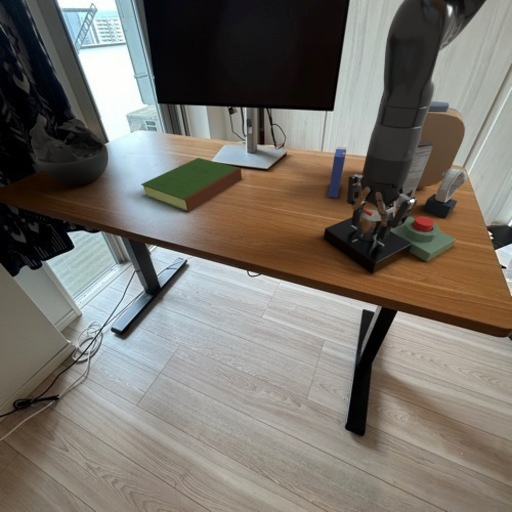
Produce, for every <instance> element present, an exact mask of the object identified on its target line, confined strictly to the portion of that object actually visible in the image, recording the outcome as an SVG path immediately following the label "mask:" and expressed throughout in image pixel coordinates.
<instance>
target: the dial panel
mask: <svg viewBox="0 0 512 512" xmlns="http://www.w3.org/2000/svg"><path fill="white" fill-rule="evenodd" d="M357 228H358V226H353V225H352V216H351V217H349V218H347V219H343V220H342V221H339V222H336V223H335V224H332V225H329V226H327V227H325V228H324V233H323V238H322V239H323V240H324V241H325V242H327V243H328V244H329V245H331V246H332V247H334V248H335V249H336V250H338V251H339V252H341V253H342V254H343V255H345V256H346V257H347V258H349V260H352V261H353V262H354V263H356V264H357V265H358V266H359V267H361V268H363V269H364V270H366V271H367V272H368V273H369V274H371V275H373V274H375V273H377V272H379V271H381V270H383V269H385V268H387V267H388V266H389V265H391V264H393V263H395V262H397V261H399V260H401V259H403V258H404V257H406V256H408V254H409V253H410V252H409V250H410V248H411V246H412V243H411V242H409V241H407V240H405V239H404V238H402V237H400V236H398V235H397V234H395V233H393V232H391V231H390V233H389V236H388V237H387V238H385V239H383V240H381V241H378V240H375V241H364V240H361V239H360V238H358V237H357V235H356V232H357Z"/></svg>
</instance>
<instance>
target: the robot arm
mask: <svg viewBox="0 0 512 512" xmlns="http://www.w3.org/2000/svg"><path fill="white" fill-rule="evenodd" d="M486 2H487V0H402V2H401V3H400V5H399V7H398V8H397V10H396V11H395V14H394V16H393V18H392V21H391V23H390V26H389V29H388V33H387V38H386V42H385V51H384V64H383V65H384V66H383V67H384V68H383V91H382V95H381V99H380V103H379V107H378V111H377V116H376V120H375V123H374V126H373V129H372V131H371V135H370V138H369V142H368V146H367V150H366V155H365V160H364V164H363V168H362V174H361V173H360V172H358V173H355V174H353V175H350V176H348V180H347V194H346V195H347V196H346V203H347V204H348V205H351V206H352V210H353V212H352V215H351V217H352V225H353V226H358V224H359V220H360V216H361V213H362V212H363V211H364V209H365V207H366V206H367V205H368V204H372V205H373V206H374V207H376V208H377V211H378V214H379V215H380V216H381V225H380V227H379V230H378V233H377V236H376V240H378V241H381V240H383V239H385V238H387V237H388V236H389V233H390V230H391V228H396V227H398V226H400V225H402V224H404V223H405V221H406V219H407V218H408V217H409V216H411V215H410V214H411V213H412V211H413V209H414V208H415V206H416V205H417V203H418V198H417V197H415V196H413V197H412V198H409V197H408V196H406V195H405V194H403V184H404V183H405V181H406V179H407V176H408V173H409V170H410V168H411V165H412V162H413V159H414V156H415V153H416V150H417V147H418V144H419V141H420V138H421V133H422V128H423V124H424V122H425V119H426V116H427V113H428V110H429V107H430V104H431V101H433V97H434V94H435V83H434V82H433V81H432V78H433V74H434V71H435V67H436V64H437V60H438V57H439V53H440V52H441V51H443V50H444V49H445V48H447V47H448V46H449V45H450V44H452V42H453V41H454V40H455V39H456V38H457V37H458V36H459V35H460V34H461V33H462V32H463V31H465V29H466V28H467V27H468V25H469V24H470V23H471V21H472V20H473V19H474V17H475V16H476V15H477V14H478V13H479V11H480V10H481V9H482V8H483V6H484V4H485V3H486ZM361 191H362V192H361ZM397 199H398V200H399V204H398V206H396V202H395V201H396V200H397ZM397 208H398V209H397ZM396 210H397V211H396ZM395 212H396V213H395Z"/></svg>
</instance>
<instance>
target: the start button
mask: <svg viewBox="0 0 512 512" xmlns="http://www.w3.org/2000/svg"><path fill="white" fill-rule="evenodd" d="M434 223H435V221H434V220H433V219H432V218H430V217H427V216H417V217H415V221H414V223H413V228H414V229H416V230H418V231H422V232H430V231H431V229H432V227H433V225H434Z"/></svg>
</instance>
